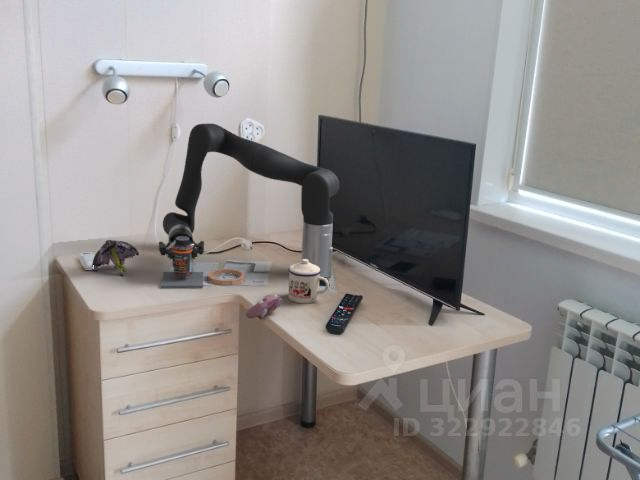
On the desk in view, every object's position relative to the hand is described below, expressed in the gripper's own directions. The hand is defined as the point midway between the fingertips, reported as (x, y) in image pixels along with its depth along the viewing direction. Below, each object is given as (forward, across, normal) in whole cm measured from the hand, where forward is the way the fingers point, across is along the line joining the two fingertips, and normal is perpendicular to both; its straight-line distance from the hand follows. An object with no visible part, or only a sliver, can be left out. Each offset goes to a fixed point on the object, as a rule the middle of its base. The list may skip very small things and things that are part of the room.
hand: (182, 255), depth 200 cm
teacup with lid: (+16, +35, +9) cm, 39 cm away
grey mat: (-2, 0, +9) cm, 9 cm away
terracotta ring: (-3, +13, +9) cm, 16 cm away
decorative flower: (-12, -20, +9) cm, 25 cm away
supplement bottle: (-2, 0, +7) cm, 7 cm away
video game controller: (+26, +20, +9) cm, 34 cm away
